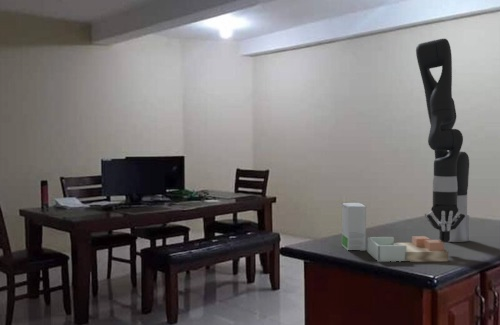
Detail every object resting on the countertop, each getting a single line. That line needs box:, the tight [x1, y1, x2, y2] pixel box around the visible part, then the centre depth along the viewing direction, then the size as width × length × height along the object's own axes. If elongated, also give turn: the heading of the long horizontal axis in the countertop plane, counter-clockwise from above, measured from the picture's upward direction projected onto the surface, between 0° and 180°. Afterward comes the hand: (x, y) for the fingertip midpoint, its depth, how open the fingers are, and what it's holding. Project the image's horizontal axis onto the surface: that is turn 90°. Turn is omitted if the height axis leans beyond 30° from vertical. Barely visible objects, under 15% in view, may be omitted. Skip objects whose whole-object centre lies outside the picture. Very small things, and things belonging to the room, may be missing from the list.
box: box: [366, 236, 407, 263], centre depth 159 cm, size 9×14×5 cm, turn 0°
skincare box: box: [341, 202, 367, 251], centre depth 171 cm, size 8×7×16 cm
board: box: [394, 242, 449, 263], centre depth 159 cm, size 13×14×3 cm
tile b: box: [424, 239, 445, 251], centre depth 155 cm, size 4×4×2 cm
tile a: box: [411, 235, 431, 247], centre depth 161 cm, size 4×4×2 cm
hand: (444, 242), depth 162 cm, fingers closed
